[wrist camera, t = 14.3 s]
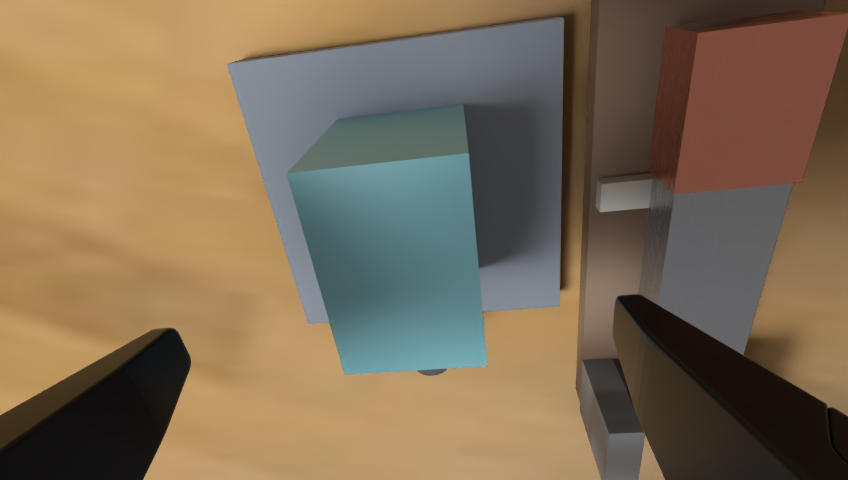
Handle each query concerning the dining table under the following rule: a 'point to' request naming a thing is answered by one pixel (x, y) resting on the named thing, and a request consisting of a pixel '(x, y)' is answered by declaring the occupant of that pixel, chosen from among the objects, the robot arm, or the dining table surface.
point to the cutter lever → (731, 158)
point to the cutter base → (625, 198)
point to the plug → (395, 240)
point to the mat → (425, 88)
